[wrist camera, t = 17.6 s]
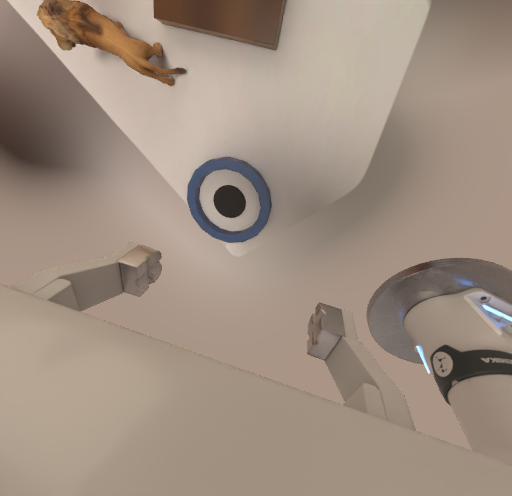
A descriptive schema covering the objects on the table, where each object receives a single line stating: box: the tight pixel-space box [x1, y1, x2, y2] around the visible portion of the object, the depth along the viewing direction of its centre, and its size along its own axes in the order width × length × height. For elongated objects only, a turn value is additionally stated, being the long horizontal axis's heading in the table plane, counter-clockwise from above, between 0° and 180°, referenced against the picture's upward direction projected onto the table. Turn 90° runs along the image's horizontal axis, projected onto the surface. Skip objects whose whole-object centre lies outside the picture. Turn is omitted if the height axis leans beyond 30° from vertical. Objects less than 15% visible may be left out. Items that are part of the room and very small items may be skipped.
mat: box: [214, 185, 245, 218], centre depth 40 cm, size 6×6×1 cm
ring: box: [187, 157, 271, 243], centre depth 40 cm, size 15×15×2 cm
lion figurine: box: [37, 0, 186, 86], centre depth 28 cm, size 15×5×9 cm, turn 72°
